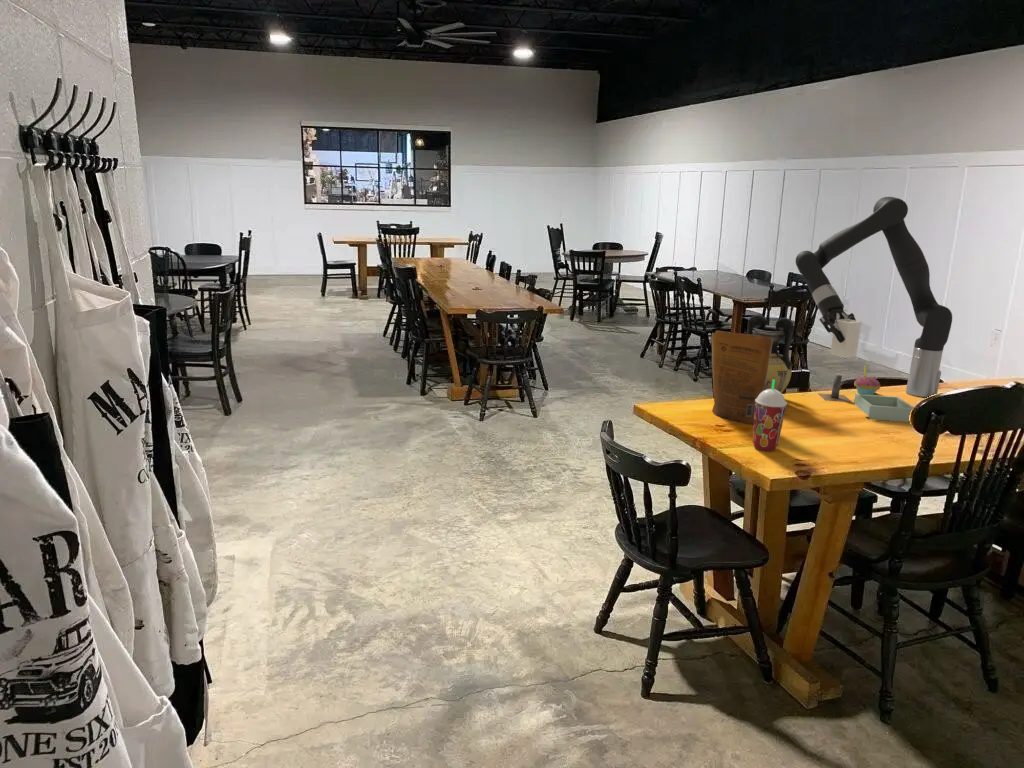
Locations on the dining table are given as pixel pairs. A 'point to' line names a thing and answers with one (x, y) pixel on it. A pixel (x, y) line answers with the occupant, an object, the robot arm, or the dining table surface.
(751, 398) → the pancake mix bag
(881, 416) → the tray
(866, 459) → the dining table surface
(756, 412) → the smoothie
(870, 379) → the cupcake
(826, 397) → the base
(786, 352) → the amphora
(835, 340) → the sleeve
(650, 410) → the dining table surface
